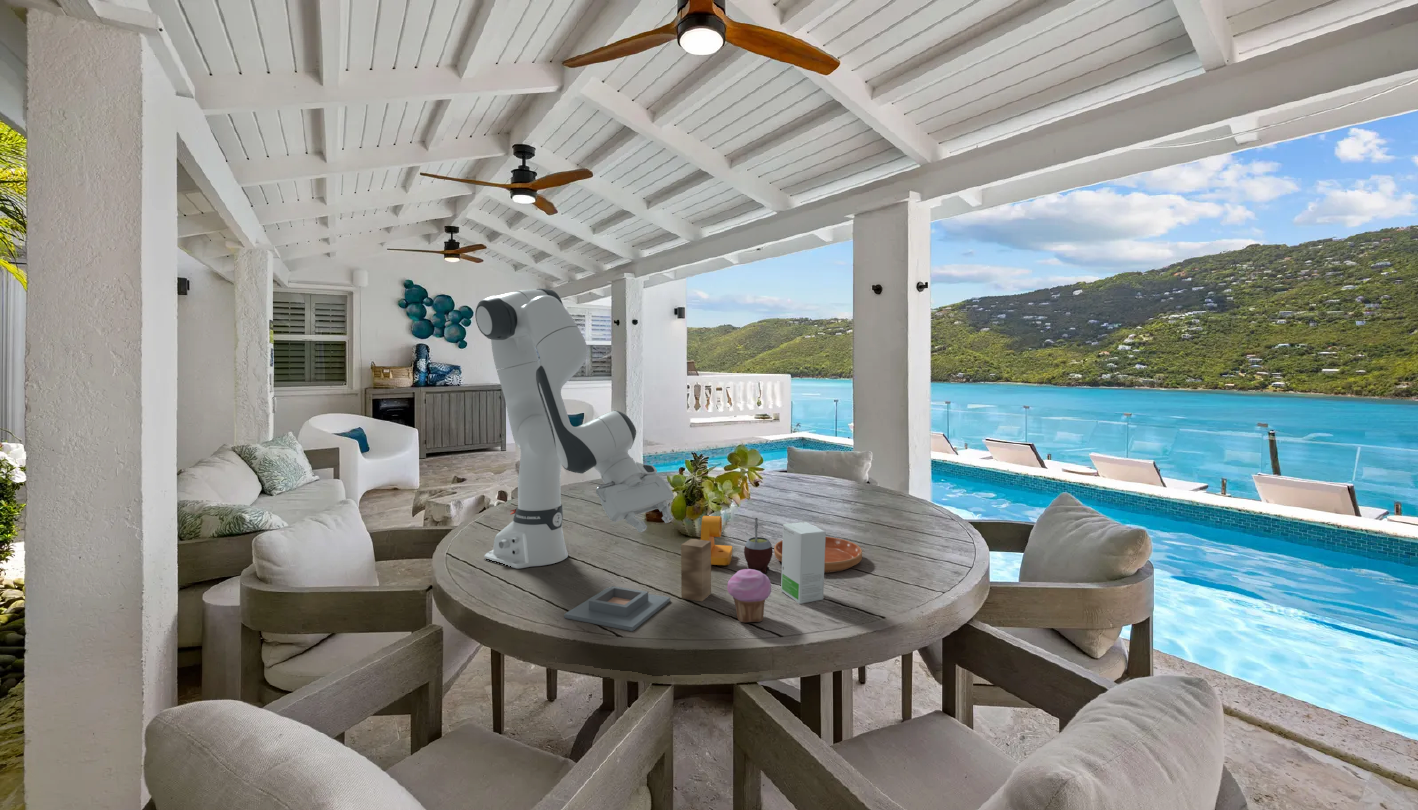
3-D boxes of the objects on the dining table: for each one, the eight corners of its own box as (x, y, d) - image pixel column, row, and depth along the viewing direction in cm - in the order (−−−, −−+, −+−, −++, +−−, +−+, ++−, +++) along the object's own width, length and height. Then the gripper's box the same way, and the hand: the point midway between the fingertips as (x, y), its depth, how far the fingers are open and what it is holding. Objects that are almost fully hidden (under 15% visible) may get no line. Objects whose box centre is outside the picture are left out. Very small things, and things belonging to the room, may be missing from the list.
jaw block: (681, 598, 127) (681, 544, 126) (691, 590, 131) (690, 538, 131) (702, 601, 125) (701, 547, 124) (711, 593, 129) (710, 541, 129)
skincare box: (780, 591, 130) (780, 523, 129) (805, 587, 133) (805, 520, 132) (800, 605, 122) (800, 533, 122) (826, 600, 125) (826, 529, 124)
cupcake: (730, 629, 111) (730, 578, 110) (725, 611, 119) (724, 563, 119) (775, 627, 112) (775, 576, 111) (767, 609, 120) (766, 562, 120)
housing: (564, 617, 117) (564, 604, 116) (608, 590, 131) (607, 578, 131) (632, 631, 110) (632, 617, 110) (670, 601, 125) (670, 588, 125)
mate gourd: (760, 564, 148) (760, 507, 148) (780, 573, 142) (780, 513, 141) (737, 570, 144) (737, 511, 144) (756, 579, 138) (756, 518, 137)
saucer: (845, 582, 136) (845, 567, 136) (759, 566, 148) (759, 552, 148) (872, 556, 155) (873, 543, 155) (794, 544, 167) (794, 531, 167)
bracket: (727, 568, 146) (727, 522, 145) (699, 567, 147) (699, 521, 147) (732, 555, 157) (732, 512, 156) (706, 554, 158) (706, 511, 157)
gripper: (599, 477, 126) (633, 527, 121) (658, 464, 143) (690, 508, 138) (585, 495, 129) (618, 544, 124) (645, 480, 146) (676, 524, 141)
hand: (657, 525), depth 131 cm, fingers open, 8 cm apart
